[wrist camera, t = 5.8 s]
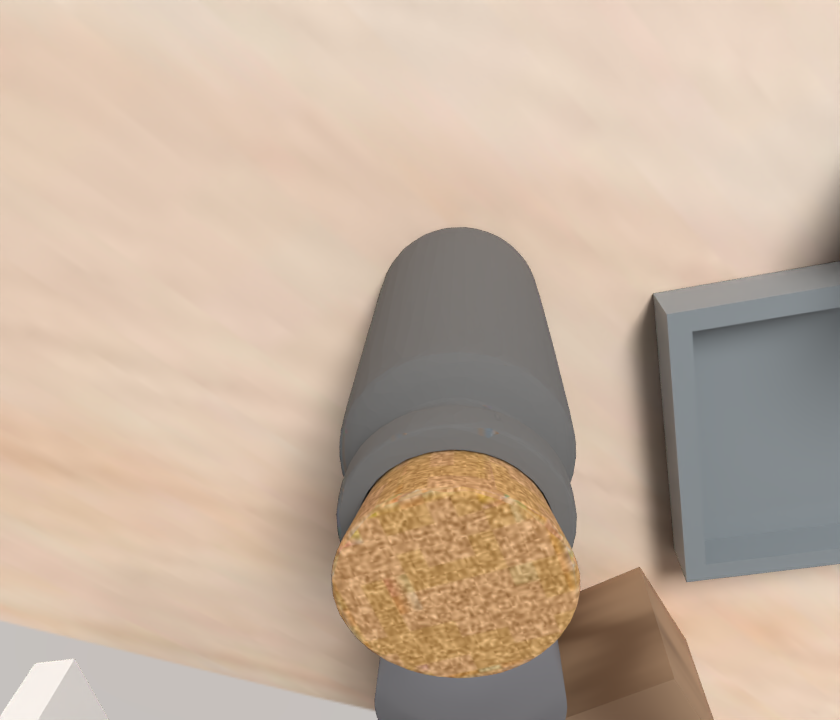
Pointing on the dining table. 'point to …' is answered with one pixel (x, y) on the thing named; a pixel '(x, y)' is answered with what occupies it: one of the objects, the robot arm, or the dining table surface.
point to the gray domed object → (475, 693)
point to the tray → (753, 421)
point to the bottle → (457, 467)
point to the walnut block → (628, 657)
